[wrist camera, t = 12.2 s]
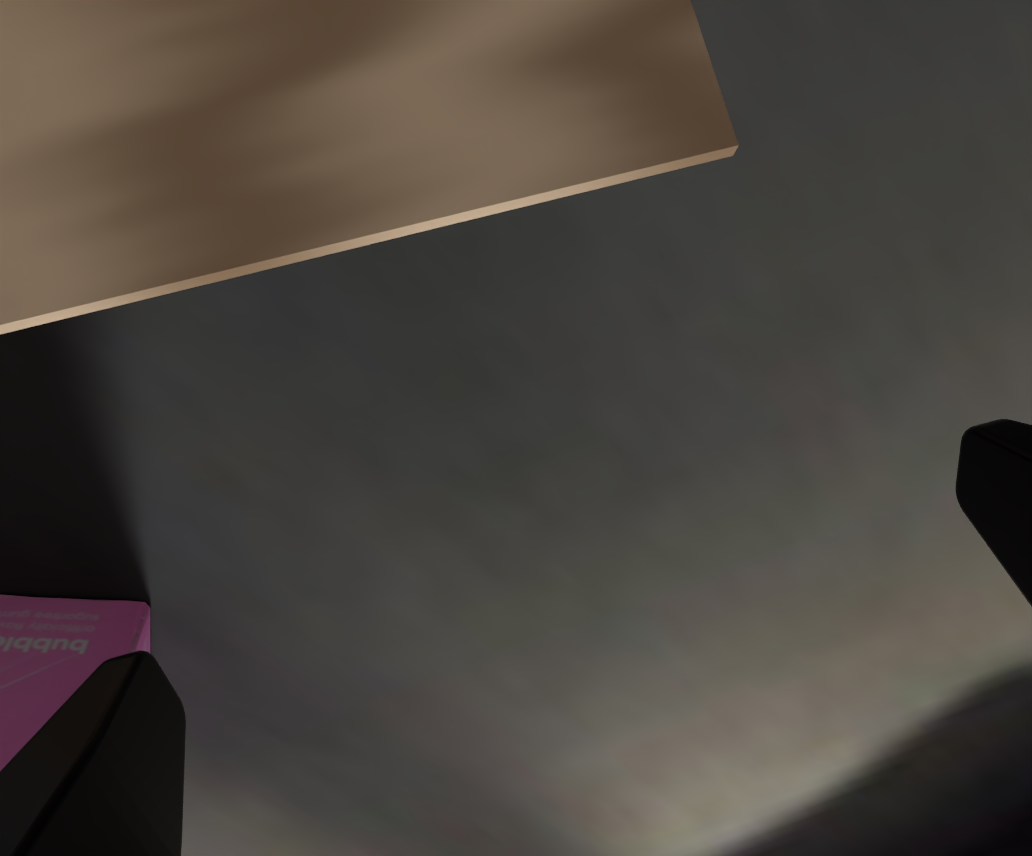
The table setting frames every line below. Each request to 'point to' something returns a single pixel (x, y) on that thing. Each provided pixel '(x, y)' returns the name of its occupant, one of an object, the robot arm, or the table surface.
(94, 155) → the carton
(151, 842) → the robot arm
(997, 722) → the table surface
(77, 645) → the gum box
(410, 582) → the table surface
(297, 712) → the table surface
